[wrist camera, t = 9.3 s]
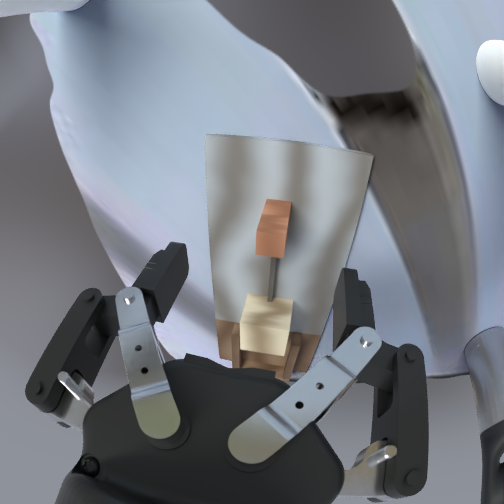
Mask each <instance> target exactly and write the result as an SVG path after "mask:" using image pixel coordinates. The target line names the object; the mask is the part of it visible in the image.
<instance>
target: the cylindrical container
mask: <svg viewBox="0 0 504 504" xmlns="http://www.w3.org/2000/svg"><path fill="white" fill-rule="evenodd" d="M476 68H477V74H478V77H479V80H480V83H481V85H482V87H483V89H484V90H485V92H486V93H487V94H488V96H489V97H490V98H491V99H492V100H493V101H495V102H496V103H498V104H500V105H503V106H504V41H503V40H488V41H486V42H484V43H483V44H482V45H481V46H480V48H479V50H478V53H477V58H476Z"/></svg>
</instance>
